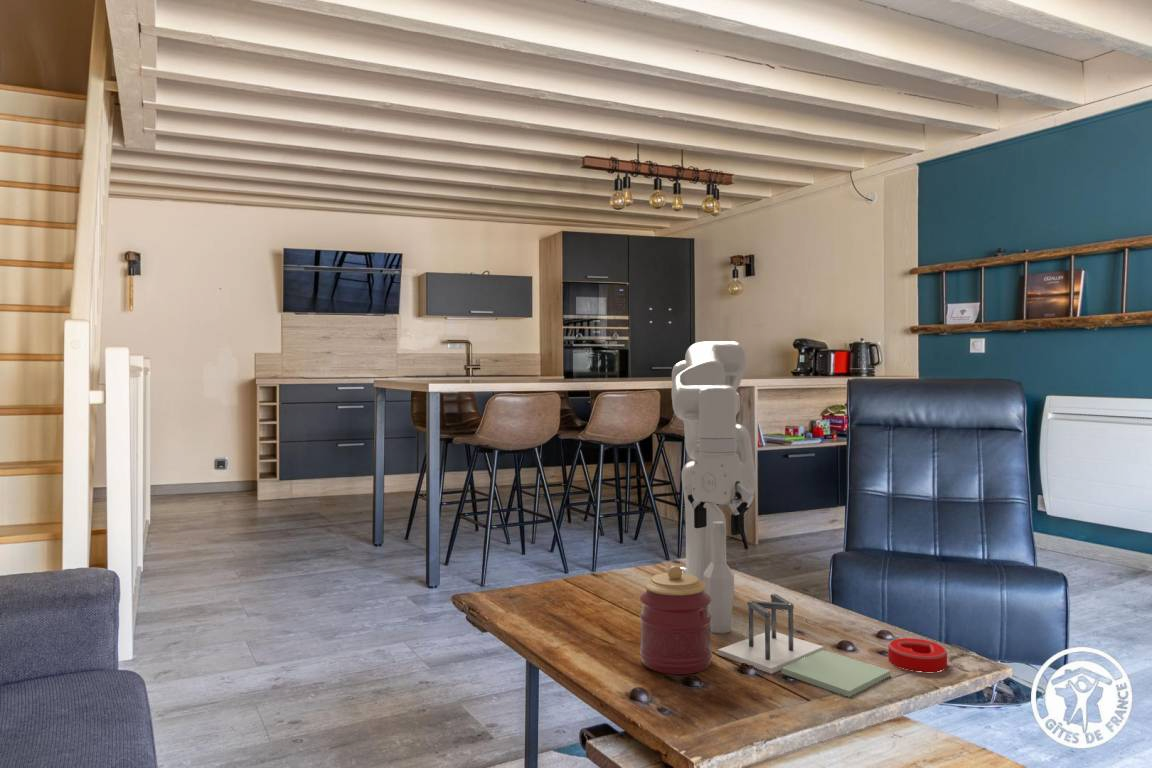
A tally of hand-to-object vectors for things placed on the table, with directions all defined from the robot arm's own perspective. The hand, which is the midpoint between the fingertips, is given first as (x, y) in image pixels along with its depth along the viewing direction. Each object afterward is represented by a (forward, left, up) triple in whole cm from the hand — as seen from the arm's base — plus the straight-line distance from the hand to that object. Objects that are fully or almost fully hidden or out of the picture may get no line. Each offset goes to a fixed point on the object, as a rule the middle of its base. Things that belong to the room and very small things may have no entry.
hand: (718, 530), depth 156 cm
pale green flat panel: (+28, -3, -20) cm, 35 cm away
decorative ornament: (+35, +13, -21) cm, 43 cm away
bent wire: (+15, -3, -20) cm, 25 cm away
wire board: (+15, -3, -20) cm, 25 cm away
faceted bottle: (0, 0, -21) cm, 21 cm away
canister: (+6, -19, -21) cm, 29 cm away
